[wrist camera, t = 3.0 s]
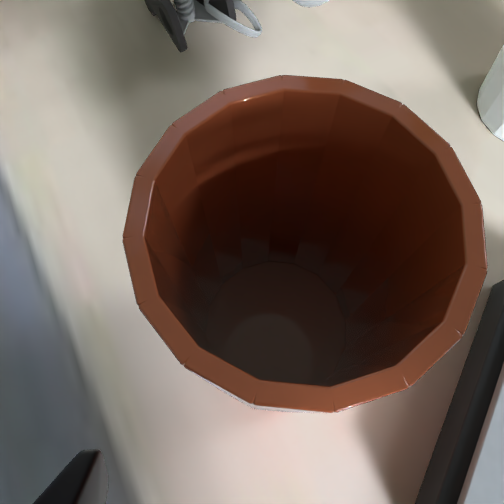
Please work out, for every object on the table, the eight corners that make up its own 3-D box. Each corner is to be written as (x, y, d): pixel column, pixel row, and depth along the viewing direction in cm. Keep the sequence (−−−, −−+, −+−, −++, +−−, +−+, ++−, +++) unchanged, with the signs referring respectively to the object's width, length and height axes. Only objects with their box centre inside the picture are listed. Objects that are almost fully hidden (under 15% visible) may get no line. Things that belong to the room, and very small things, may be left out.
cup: (311, 441, 20) (407, 491, 7) (170, 362, 21) (51, 292, 9) (375, 298, 22) (531, 154, 10) (244, 234, 23) (232, 32, 11)
